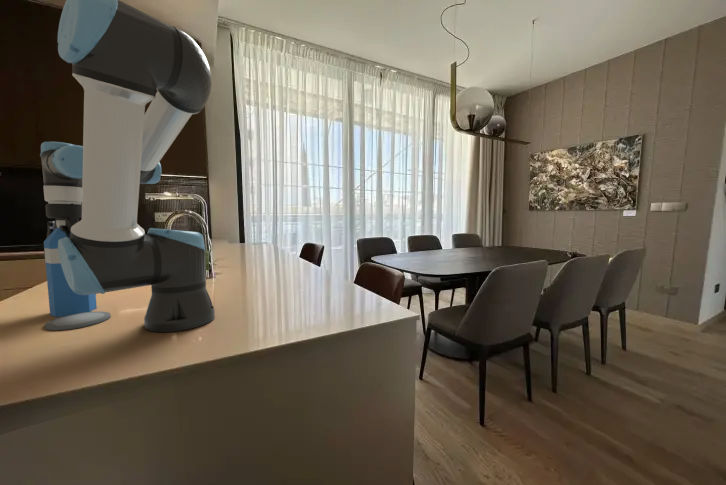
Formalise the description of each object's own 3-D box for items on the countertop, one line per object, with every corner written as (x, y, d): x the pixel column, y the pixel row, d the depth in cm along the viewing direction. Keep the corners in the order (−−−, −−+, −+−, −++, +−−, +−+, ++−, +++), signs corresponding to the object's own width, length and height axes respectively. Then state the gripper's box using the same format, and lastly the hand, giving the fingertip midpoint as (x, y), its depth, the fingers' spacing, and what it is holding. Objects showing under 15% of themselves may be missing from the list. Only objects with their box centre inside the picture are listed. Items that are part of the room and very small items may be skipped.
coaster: (121, 317, 80) (121, 314, 80) (62, 333, 69) (61, 330, 68) (93, 311, 84) (93, 308, 84) (34, 326, 73) (33, 323, 73)
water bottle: (105, 306, 88) (99, 220, 86) (71, 317, 79) (63, 220, 77) (76, 305, 89) (69, 219, 87) (39, 316, 80) (30, 220, 78)
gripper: (109, 203, 80) (115, 283, 82) (58, 203, 89) (64, 276, 91) (74, 202, 73) (81, 290, 75) (22, 203, 83) (29, 281, 85)
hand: (71, 282), depth 83 cm, fingers open, 12 cm apart
